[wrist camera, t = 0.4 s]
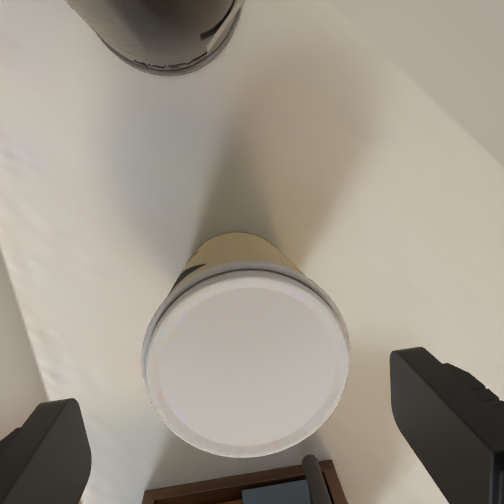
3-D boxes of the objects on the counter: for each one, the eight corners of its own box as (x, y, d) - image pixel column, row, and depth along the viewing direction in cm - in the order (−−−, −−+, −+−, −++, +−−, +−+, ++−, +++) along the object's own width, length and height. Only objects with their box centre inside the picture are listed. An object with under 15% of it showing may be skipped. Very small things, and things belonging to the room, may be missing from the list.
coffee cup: (173, 216, 26) (136, 263, 14) (305, 223, 27) (371, 273, 15) (171, 339, 28) (137, 465, 17) (293, 342, 29) (342, 463, 18)
